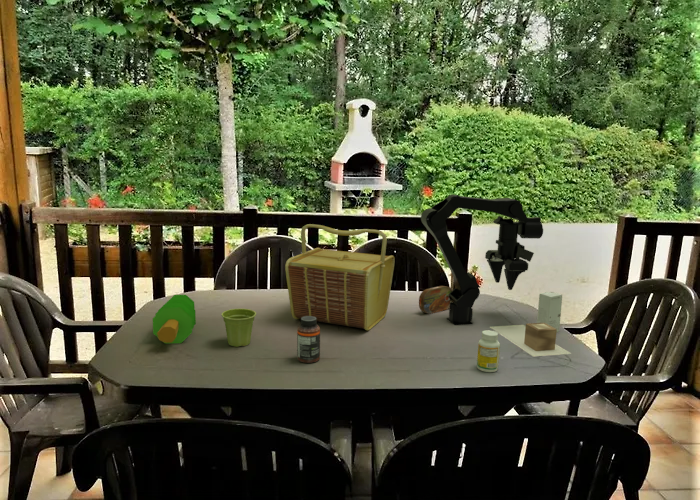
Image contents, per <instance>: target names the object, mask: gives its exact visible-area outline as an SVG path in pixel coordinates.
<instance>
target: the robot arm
mask: <svg viewBox="0 0 700 500" xmlns="http://www.w3.org/2000/svg"><path fill="white" fill-rule="evenodd" d="M458 209H462V210H463V209H464V210H474V211H483V212H491V213H494V214H498V215H499V216H497V217H496V219H494V220H493V221H492V222H493V224H496V225H499V226H498V227H499V228H498V239H496V240H495V244H497V249H488V250H487V251H486V252H485V257H484V258H485V259H486V262H487V263H488V265H489V268H490V271H491V273H492V275H493V278H494V281H495V283H500V281H501V277H502V272H503V271H504V275H505V281H506V285H507V286H506V287H507V290H509V291H512V290H513V288H514V286H515V284H516V282H517V279H518V277H519V276H520V275H521V274H522V273H525V272H526V271H528V270H529V263H530V262H531V260H532V259H533V257H534V254H535V253H534V252H532V251H530V250H528V249H525V245H523V244H521V243H520V242H518V237H520V238H521V239H541V238H542V236H543V234H544V227H543V223H542V219H541V217H538V216H533V217H528V216H527V214H526V213H525V211H524V210H523V203H522V202H521V201H520V200H518V199H514V198H510V197H502V198H501V197H499V198H498V197H497V198H491V199H489V198H481V197H479V198H478V197H472V196H461V195H457V194H453V193H452V194H448V196H447V197H445V198H444V199H443V200H441V201H439V202H437V203H436V204H434V205H433V206H432V207H430V208H429V207H428V208H426V209H424V210H423V211H422V213H421V215H420V221H421V223H422V224H423V226H424V227H425V228H426V230H427V231H428V232H429V233H430V234H431V235H432V237H433V238H434V240H435V241H436V243H437V246H438V248H439V250H440V252H441V254H442V256H443V258H444V260H445V262H446V264H447V266H448V268H449V270H450V272H451V274H452V278H453V279H452V280H453V284H454V285H453V286H454V289H452V291H451V292H450V293H449V294H448V295H449V299H450V300H451V301H452V303H450V307H449V308H448V317H446V320H447V321H448V322H450V323H451V324H452V325H454V326H464V325H467V326H468V325H473V324H474V322H472V321H473V310H474V308H473V306H474V303H475V302H476V300H477V299H478V298H479V296H480V295H481V294H480V293H481V290H480V288H481V286H480V285H479V283H478V281H477V277H476V276H475V275H473V273H471V272H469V271H468V272H467V271H466V270H465V266H464V265H463V263H462V261H461V259H460V257H459V255H458V253H457V251H456V249H455V247H454V244H453V243H452V240H451V238H450V237H449V234H448V233H449V232H448V225H447V222H446V221H447V220H448V219H449V218H450V217H451V216H452V215H453V214H454V212H456V210H458ZM500 215H501V216H500ZM504 216H505V217H507V218H504ZM514 220H517V221H514ZM528 262H529V263H528ZM503 267H505V268H504V269H503Z"/></svg>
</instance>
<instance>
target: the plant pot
mask: <svg viewBox="0 0 700 500" xmlns="http://www.w3.org/2000/svg"><path fill="white" fill-rule="evenodd" d="M256 316H257V312H256V311H255V310H253V309H249V308H233V309H232V308H231V309H228V310H224V311H222V313H221V317H222V319H223V322H224V325H225V326H224V327H225V333H226V339H227V343H228V345H229V346H231V347H237V348H238V347H241V346H243V347H246V346H248V345H250V344H251V340H252V331H253V327H254V325H253V324H254V321H255V317H256Z"/></svg>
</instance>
